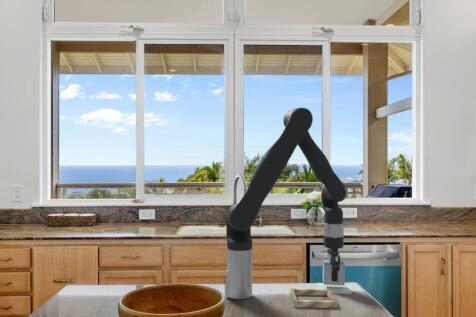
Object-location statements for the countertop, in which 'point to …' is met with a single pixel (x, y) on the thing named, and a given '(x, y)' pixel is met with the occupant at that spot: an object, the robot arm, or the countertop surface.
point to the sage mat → (335, 288)
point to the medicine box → (328, 273)
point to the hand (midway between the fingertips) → (333, 278)
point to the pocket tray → (311, 303)
